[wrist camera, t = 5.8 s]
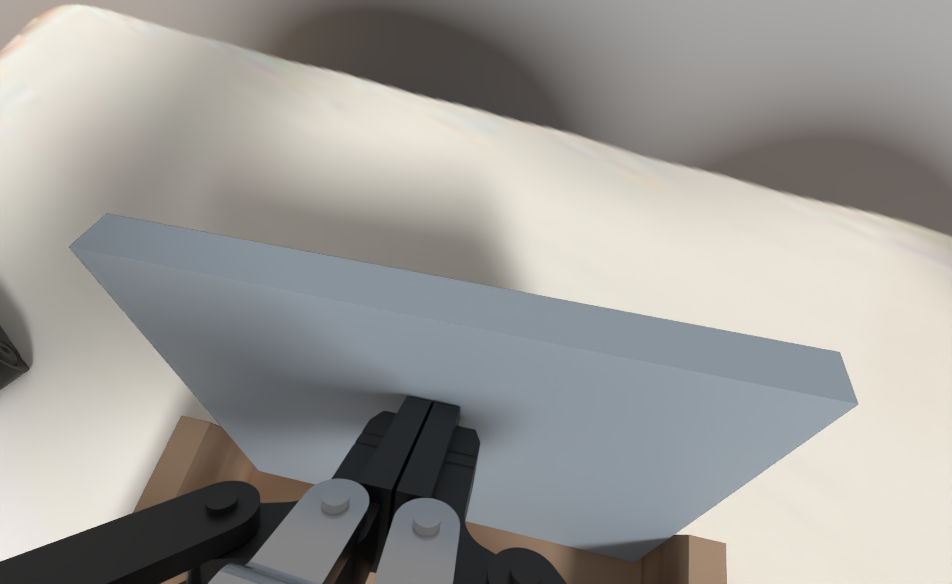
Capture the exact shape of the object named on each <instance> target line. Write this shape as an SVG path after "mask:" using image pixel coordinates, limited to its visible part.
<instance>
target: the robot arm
mask: <svg viewBox="0 0 952 584" xmlns="http://www.w3.org/2000/svg"><path fill="white" fill-rule="evenodd" d="M460 412H461V407H456V406H451V405H447V404H442V403H437V402H435V403H434V405H433V402H432V401H427V400H422V399H417V398H412V397H406V398H405V400H404V402H403V403H402V405H401V407H400V409H399V411H398V412H397V413H394V412H389V411H382V412H381V413H379V414H378V415H376V416H374V417H373V418H371V419H370V420H369V421H368V423H367V425H366V426H365V428H364V429H363V431H362V434H360V435H359V437H358V438H357V440H356V441H355V444H354V445H353V446H352V448H351V449H350V451H349V452H348V454H347V455H346V457H345V458H344V460H343V462H342V463H341V465H340V466H339V468H338V469H337V471H336V472H335V474H334V475H333V477H332V478H331V479H330V480H326V481H322V482H320V483H318V484H316V485H314V486H313V487H311V488H310V489H309V490H308V491H307V492H306V493H305V494H304V495H303V497H302V498H301V499H300V500H298V501H292V502H274V503H260V494H259V491H258V490H257V489H256V488H255V487H254V486H253V485H251V484H249V483H246V482H243V481H223V482H218V483H215V484H212V485H209V486H206V487H203V488H201V489H198V490H195V491H192V492H190V493H187V494H184V495H181V496H179V497H176V498H173V499H170V500H168V501H165V502H162V503H160V504H157V505H154V506H151V507H149V508H146V509H143V510H140V511H138V512H135V513H132V514H129V515H127V516H124V517H121V518H119V519H116V520H113V521H110V522H108V523H105V524H102V525H99V526H97V527H94V528H91V529H88V530H86V531H83V532H80V533H78V534H75V535H72V536H69V537H67V538H64V539H61V540H58V541H56V542H53V543H50V544H47V545H45V546H42V547H39V548H37V549H34V550H31V551H28V552H26V553H23V554H20V555H17V556H15V557H12V558H9V559H6V560H4V561H1V562H0V584H161V583H163V582H165V581H167V580H169V579H171V578H174V577H176V576H178V575H180V574H182V573H184V572H186V580H185V581H183V582H181V583H179V584H365V583H366V581H367V578H368V576H369V573H370V572H373V573H376V575H375V579H374V582H373V584H567V583H566V582H565V580H564V579H563V578H562V576H561V575H560V574H559V573H558V571H557V570H556V569H555V567H554V566H553V565H552V564H551V563H550V561H548V560H547V559H546V558H545V557H544V556H542V555H541V554H539V553H537V552H535V551H533V550H530V549H527V548H521V547H513V548H508V549H504V550H502V551H500V552H499V553H497V554H495V553H493V552H491V551H490V550H488V549H486V548H484V547H483V546H481V545H480V544H479V543H478V542H476V541H475V539H474V538H473V537H472V536H471V535H470V533H469V532H468V529H467V527H466V524H465V521H466V516H467V512H468V507H469V503H470V498H471V493H472V489H473V483H474V477H475V472H476V466H477V460H478V454H479V449H480V440H479V438H478V435H477V432H476V430H475V429H470V428H465V427H461V426H459V420H460Z"/></svg>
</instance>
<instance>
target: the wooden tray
mask: <svg viewBox="0 0 952 584" xmlns="http://www.w3.org/2000/svg"><path fill="white" fill-rule="evenodd" d="M223 481H243V482H246V483H249V484H251V485H253V486H254V487H255V488H256V489H257V490H258V491H259V494H260V503H274V502H292V501H298V500H300V499H301V498H302V497H303V495H304V494H305V493H306V492H307V491H308V490H309V489H310V488H311V487H313V486H314V485H315V484H311V483H307V482H303V481H299V480H294V479H290V478H286V477H282V476H278V475H274V474H270V473H266V472H262V471H259V470H258V469H257V468H256V467H255V465H254V464H253V463H252V462H251V461H250V460H249V458H248V457H247V456H246V455H245V454H244V453H243V451H242V450H241V449H240V448H239V447H238V445H237V444H236V443H235V442H234V441H233V440H232V438H231V437H230V436H229V435H228V434H227V432H226V431H225V430H224V429H223V428H222V427H220V426H218V425H215V424H213V423H210V422H206V421H202V420H198V419H193V418H189V417H185V416H181V418H180V420H179V422H178V424H177V426H176V428H175V430H174V432H173V434H172V436H171V438H170V440H169V442H168V444H167V446H166V448H165V450H164V452H163V454H162V456H161V458H160V460H159V462H158V464H157V466H156V468H155V470H154V472H153V474H152V476H151V478H150V480H149V482H148V484H147V486H146V488H145V490H144V492H143V494H142V496H141V498H140V500H139V502H138V504H137V506H136V508H135V510H134V512H133V513H135V512H138V511H140V510H143V509H146V508H149V507H151V506H154V505H157V504H160V503H162V502H165V501H168V500H170V499H173V498H176V497H179V496H181V495H184V494H187V493H190V492H192V491H195V490H198V489H201V488H203V487H206V486H209V485H212V484H215V483H218V482H223ZM465 524H466V527H467V529H468V532H469V533H470V535H471V536H472V537H473V538H474V539H475V541H476V542H478V543H479V544H480V545H481V546H483V547H484V548H486V549H488V550H490V551H491V552H493V553H495V554H497V553H499V552H500V551H502V550H504V549H508V548H513V547H521V548H527V549H530V550H533V551H535V552H537V553H539V554H541V555H542V556H544V557H545V558H546V559H547V560H548V561H550V563H551V564H552V565H553V566H554V567H555V569H556V570H557V571H558V573H559V574H560V575H561V576H562V578H563V579H564V580H565V582H566V583H567V584H727V572H726V543H721V542H717V541H713V540H709V539H704V538H700V537H696V536H692V535H673V536H671V537H670V538H669V539H667V540H666V541H664V542H663V543H662V544H660V545H659V546H657V547H656V548H654V549H653V550H652V551H650V552H649V553H647V554H646V555H645V556H643V557H642V558H640V559H639V560H638V561H636V562H631V561H627V560H623V559H619V558H615V557H610V556H606V555H602V554H598V553H594V552H590V551H586V550H582V549H578V548H574V547H569V546H565V545H561V544H557V543H553V542H549V541H545V540H541V539H537V538H532V537H528V536H524V535H520V534H516V533H512V532H508V531H504V530H500V529H496V528H491V527H487V526H483V525H479V524H475V523H471V522H467V521H465ZM375 575H376V573H373V572H370V573H369V576H368V578H367V581H366V583H365V584H373V582H374V579H375ZM185 580H186V572H184V573H182V574H180V575H178V576H176V577H174V578H171V579H169V580H167V581H165V582H163V583H161V584H179V583H181V582H183V581H185Z"/></svg>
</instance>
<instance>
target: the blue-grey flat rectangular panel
mask: <svg viewBox="0 0 952 584" xmlns="http://www.w3.org/2000/svg"><path fill="white" fill-rule="evenodd" d="M69 248H70V249H71V250H72V251H73V252H74V253H75V255H76V256H77V257H78V258H79V259H80V260H81V262H82V263H83V264H84V265H85V266H86V268H87V269H88V270H89V271H90V272H91V273H92V275H93V276H94V277H95V278H96V279H97V281H98V282H99V283H100V284H101V285H102V286H103V288H104V289H105V290H106V291H107V292H108V293H109V295H110V296H111V297H112V298H113V299H114V301H115V302H116V303H117V304H118V305H119V306H120V308H121V309H122V310H123V311H124V312H125V313H126V315H127V316H128V317H129V318H130V319H131V321H132V322H133V323H134V324H135V325H136V326H137V328H138V329H139V330H140V331H141V332H142V334H143V335H144V336H145V337H146V338H147V339H148V341H149V342H150V343H151V344H152V345H153V346H154V348H155V349H156V350H157V351H158V352H159V354H160V355H161V356H162V357H163V358H164V359H165V361H166V362H167V363H168V364H169V365H170V367H171V368H172V369H173V370H174V371H175V372H176V374H177V375H178V376H179V377H180V378H181V379H182V381H183V382H184V383H185V384H186V385H187V387H188V388H189V389H190V390H191V391H192V392H193V394H194V395H195V396H196V397H197V398H198V400H199V401H200V402H201V403H202V404H203V405H204V407H205V408H206V409H207V410H208V411H209V412H210V414H211V415H212V416H213V417H214V418H215V420H216V421H217V422H218V423H219V424H220V425H221V427H222V428H223V429H224V430H225V431H226V432H227V434H228V435H229V436H230V437H231V438H232V440H233V441H234V442H235V443H236V444H237V445H238V447H239V448H240V449H241V450H242V451H243V453H244V454H245V455H246V456H247V457H248V458H249V460H250V461H251V462H252V463H253V464H254V465H255V467H256V468H257V469H258V470H259V471H262V472H266V473H270V474H274V475H278V476H282V477H286V478H290V479H294V480H299V481H303V482H307V483H311V484H315V485H316V484H318V483H320V482H322V481H326V480H330V479H331V478H332V477H333V475H334V474H335V472H336V471H337V469H338V468H339V466H340V465H341V463H342V462H343V460H344V458H345V457H346V455H347V454H348V452H349V451H350V449H351V448H352V446H353V445H354V444H355V441H356V440H357V438H358V437H359V435H360V434H362V431H363V429H364V428H365V426H366V425H367V423H368V421H369V420H370V419H371V418H373V417H374V416H376V415H378V414H379V413H381V412H382V411H389V412H394V413H397V412H398V411H399V409H400V407H401V405H402V403H403V402H404V400H405V398H406V397H412V398H417V399H422V400H427V401H432V402H433V405H434V403H435V402H437V403H442V404H447V405H451V406H456V407H461V412H460V420H459V426H461V427H465V428H470V429H475V430H476V432H477V435H478V438H479V440H480V449H479V454H478V460H477V466H476V472H475V477H474V483H473V489H472V493H471V498H470V503H469V507H468V512H467V516H466V521H467V522H471V523H475V524H479V525H483V526H487V527H491V528H496V529H500V530H504V531H508V532H512V533H516V534H520V535H524V536H528V537H532V538H537V539H541V540H545V541H549V542H553V543H557V544H561V545H565V546H569V547H574V548H578V549H582V550H586V551H590V552H594V553H598V554H602V555H606V556H610V557H615V558H619V559H623V560H627V561H631V562H636V561H638V560H639V559H640V558H642V557H643V556H645V555H646V554H647V553H649V552H650V551H652V550H653V549H654V548H656V547H657V546H659V545H660V544H662V543H663V542H664V541H666V540H667V539H669V538H670V537H671V536H673V535H674V534H676V533H677V532H679V531H680V530H681V529H683V528H684V527H686V526H687V525H688V524H690V523H691V522H693V521H694V520H695V519H697V518H698V517H700V516H701V515H703V514H704V513H705V512H707V511H708V510H710V509H711V508H712V507H714V506H715V505H717V504H718V503H720V502H721V501H722V500H724V499H725V498H727V497H728V496H729V495H731V494H732V493H734V492H735V491H736V490H738V489H739V488H741V487H742V486H744V485H745V484H746V483H748V482H749V481H751V480H752V479H753V478H755V477H756V476H758V475H759V474H760V473H762V472H763V471H765V470H766V469H768V468H769V467H770V466H772V465H773V464H775V463H776V462H777V461H779V460H780V459H782V458H783V457H785V456H786V455H787V454H789V453H790V452H792V451H793V450H794V449H796V448H797V447H799V446H800V445H801V444H803V443H804V442H806V441H807V440H809V439H810V438H811V437H813V436H814V435H816V434H817V433H818V432H820V431H821V430H823V429H824V428H826V427H827V426H828V425H830V424H831V423H833V422H834V421H835V420H837V419H838V418H840V417H841V416H842V415H844V414H845V413H847V412H848V411H850V410H851V409H852V408H854V407H855V406H857V405H858V402H857V399H856V396H855V393H854V391H853V388H852V385H851V382H850V379H849V377H848V374H847V371H846V368H845V365H844V363H843V360H842V357H841V354H840V352H836V351H831V350H825V349H820V348H815V347H810V346H804V345H799V344H794V343H789V342H783V341H778V340H773V339H767V338H762V337H757V336H752V335H746V334H741V333H736V332H730V331H725V330H720V329H715V328H709V327H704V326H699V325H693V324H688V323H683V322H678V321H672V320H667V319H662V318H656V317H651V316H646V315H641V314H635V313H630V312H625V311H619V310H614V309H609V308H604V307H598V306H593V305H588V304H583V303H577V302H572V301H567V300H561V299H556V298H551V297H546V296H540V295H535V294H530V293H524V292H519V291H514V290H509V289H503V288H498V287H493V286H487V285H482V284H477V283H472V282H466V281H461V280H456V279H450V278H445V277H440V276H435V275H429V274H424V273H419V272H413V271H408V270H403V269H398V268H392V267H387V266H382V265H377V264H371V263H366V262H361V261H355V260H350V259H345V258H340V257H334V256H329V255H324V254H318V253H313V252H308V251H303V250H297V249H292V248H287V247H281V246H276V245H271V244H266V243H260V242H255V241H250V240H244V239H239V238H234V237H229V236H223V235H218V234H213V233H207V232H202V231H197V230H192V229H186V228H181V227H176V226H171V225H165V224H160V223H155V222H149V221H144V220H139V219H134V218H128V217H123V216H118V215H112V214H106V215H105V216H104V217H102V218H101V219H100V220H99V221H98V222H97V223H96V224H94V225H93V226H92V227H91V228H90V229H89V230H88V231H86V232H85V233H84V234H83V235H82V236H81V237H80V238H78V239H77V240H76V241H75V242H74V243H73V244H72V245H70V246H69Z"/></svg>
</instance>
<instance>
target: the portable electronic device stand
mask: <svg viewBox="0 0 952 584" xmlns="http://www.w3.org/2000/svg"><path fill="white" fill-rule="evenodd" d="M28 370H29V368H28V366H27V365H26V363H25V362H24V361H23V360H22V358H21V357H20V354H19V353H18V351H17V350H16V348H15V347H14V345H13V344H12V342H11V341H10V339H9V338H8V336H7V335H6V333H5V332H4V330H3V329H2V327H1V326H0V390H1V389H3V388H4V387H6V386H7V385H8V384H10V383H11V382H13V381H14V380H15V379H17V378H18V377H20V376H21V375H22V374H24V373H25V372H27V371H28Z"/></svg>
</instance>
